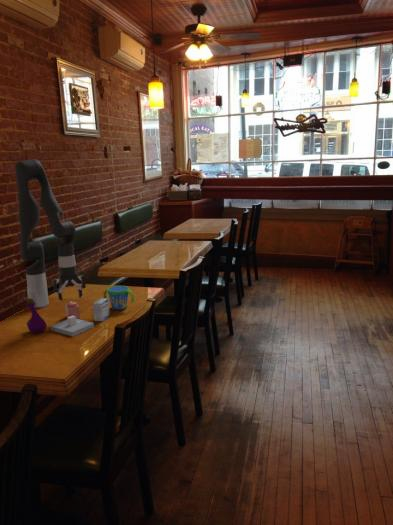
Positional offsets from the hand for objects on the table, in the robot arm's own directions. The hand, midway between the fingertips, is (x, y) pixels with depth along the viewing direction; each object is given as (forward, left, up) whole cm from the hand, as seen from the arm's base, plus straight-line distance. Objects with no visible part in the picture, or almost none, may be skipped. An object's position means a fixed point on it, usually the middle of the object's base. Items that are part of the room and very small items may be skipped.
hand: (70, 298), depth 200 cm
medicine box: (+13, +7, -10) cm, 17 cm away
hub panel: (+11, -9, -9) cm, 17 cm away
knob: (0, +1, -9) cm, 9 cm away
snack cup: (+10, +22, -10) cm, 26 cm away
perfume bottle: (0, -19, -10) cm, 22 cm away
